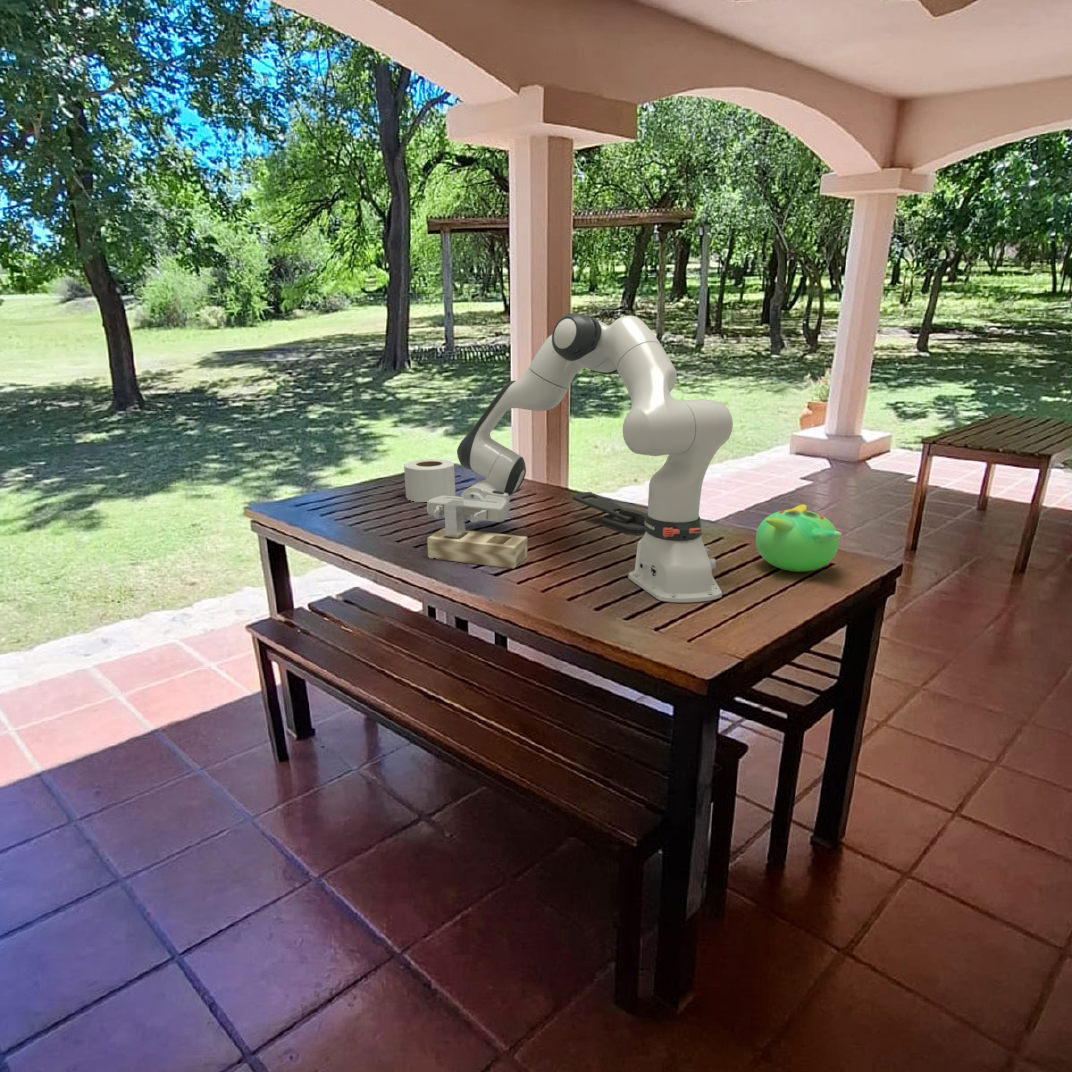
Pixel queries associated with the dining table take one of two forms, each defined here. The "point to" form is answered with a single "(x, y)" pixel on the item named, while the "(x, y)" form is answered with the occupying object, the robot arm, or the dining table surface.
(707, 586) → the robot arm
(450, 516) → the grey square pillar
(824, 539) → the toy bird
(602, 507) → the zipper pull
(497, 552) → the hollow cinder block
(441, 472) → the toilet paper roll
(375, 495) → the dining table surface
